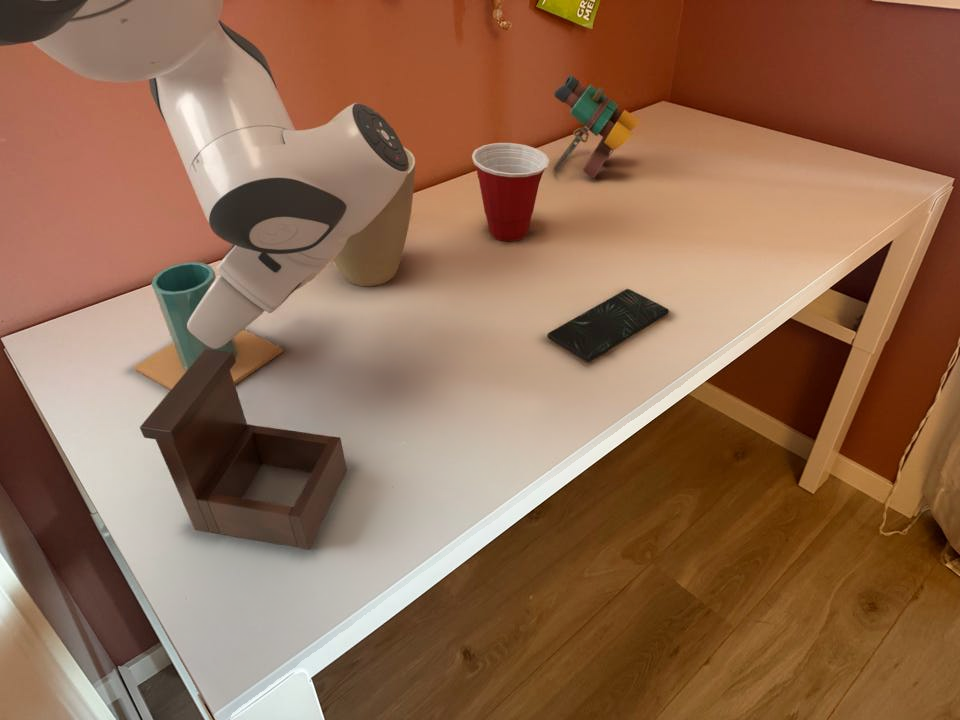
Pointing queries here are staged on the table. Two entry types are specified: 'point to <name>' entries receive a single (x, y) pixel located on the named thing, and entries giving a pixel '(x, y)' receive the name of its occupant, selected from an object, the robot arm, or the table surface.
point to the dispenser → (239, 459)
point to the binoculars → (595, 122)
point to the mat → (248, 359)
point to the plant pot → (380, 239)
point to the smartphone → (607, 325)
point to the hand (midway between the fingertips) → (224, 309)
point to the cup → (185, 306)
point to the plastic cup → (509, 186)
